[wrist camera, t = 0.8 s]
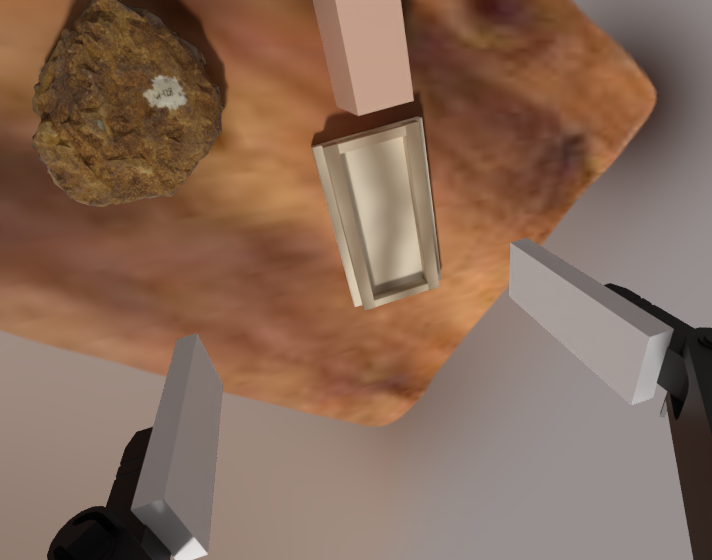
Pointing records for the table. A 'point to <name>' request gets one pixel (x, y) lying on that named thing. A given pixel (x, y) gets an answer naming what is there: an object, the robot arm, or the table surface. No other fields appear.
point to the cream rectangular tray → (381, 211)
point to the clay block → (365, 53)
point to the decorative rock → (123, 107)
